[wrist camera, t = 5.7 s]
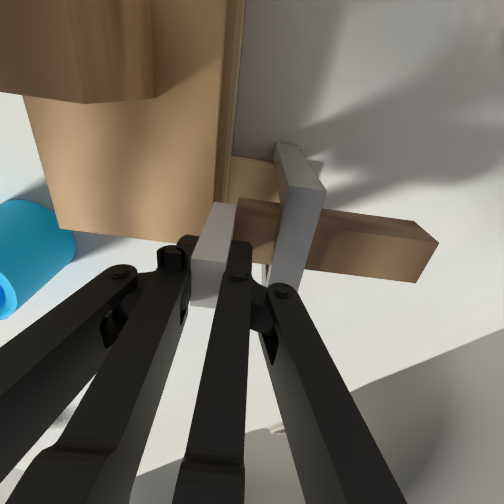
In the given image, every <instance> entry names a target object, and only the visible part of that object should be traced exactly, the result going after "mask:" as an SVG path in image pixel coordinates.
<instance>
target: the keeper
mask: <svg viewBox="0 0 504 504" xmlns="http://www.w3.org/2000/svg"><path fill="white" fill-rule="evenodd" d="M273 165H274V171H275V177H276V183H277V189H278V195H279V201H280V207H281V211H280V216H279V221H278V226H277V231H276V236H275V241H274V245H273V250H272V255H271V260H270V265H268V264H262V285H263V286H265V287H269V285H271V284H273V283H277V282H279V283H285V284H288V285H290V286H292V287H293V288H294V289H295V290H296V291H297V292H298V288H299V285H300V281H301V278H302V274H303V271H304V267H305V264H306V261H307V257H308V254H309V250H310V247H311V243H312V240H313V236H314V233H315V229H316V226H317V223H318V219H319V216H320V212H321V209H322V205H323V202H324V198H325V195H326V192H327V190H326V189H325V187H324V186H323V184H322V183H321V181H320V180H319V178H318V177H317V175H316V174H315V172H314V170H313V169H312V167H311V166H310V164H309V163H308V161H307V160H306V158H305V157H304V155H303V154H302V152H301V150H300V149H299V147H298V146H297V145H292V144H285V143H278V142H276V146H275V152H274V158H273Z"/></svg>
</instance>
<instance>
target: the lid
mask: <svg viewBox="0 0 504 504" xmlns="http://www.w3.org/2000/svg"><path fill="white" fill-rule="evenodd" d="M226 8H227V0H0V92H5V93H12V94H19V95H22V96H23V100H24V103H25V107H26V110H27V114H28V117H29V121H30V124H31V128H32V132H33V135H34V139H35V142H36V146H37V149H38V153H39V156H40V160H41V163H42V167H43V171H44V174H45V178H46V181H47V185H48V188H49V192H50V195H51V199H52V203H53V206H54V210H55V213H56V217H57V220H58V224H59V227H60V229H66V230H74V231H82V232H90V233H98V234H106V235H113V236H121V237H129V238H137V239H145V240H153V241H161V242H168V243H176V244H177V242H178V240H179V239H180V238H181V237H183V236H184V235H186V234H187V235H195V236H200V235H201V232H202V230H203V228H204V225H205V223H206V220H207V218H208V215H209V213H210V211H211V208H212V206H213V203H214V202H215V189H216V173H217V156H218V140H219V123H220V107H221V91H222V74H223V58H224V41H225V25H226Z"/></svg>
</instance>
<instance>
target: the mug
mask: <svg viewBox="0 0 504 504" xmlns="http://www.w3.org/2000/svg"><path fill="white" fill-rule="evenodd" d="M75 253H76V242H75V240H74V237H73V234H72V232H71V230H66V229H60V227H59V224H58V220H57V217H56V214H55V213H54V212H52V211H51V210H49V209H47V208H45V207H43V206H42V205H40V204H37V203H34V202H30V201H27V200H9V201H7V202H4V203H1V204H0V320H2V319H6V318H8V317H9V316H10V315H12V314H13V313H14V312H15V311H16V310H17V309H19V308H20V307H21V306H22V305H23V304H24V303H25V302H26V301H27V300H28V299H30V298H31V297H32V296H33V295H34V294H35V293H36V292H37V291H38V290H39V289H41V288H42V287H43V286H44V285H45V284H46V283H47V282H48V281H49V280H51V279H52V278H53V277H54V276H55V275H56V274H57V273H58V272H59V271H60V270H62V269H63V268H64V267H65V266H66V265H67V264H68V263H69V262H70V261H71V260H72V259H73V257H74V255H75Z"/></svg>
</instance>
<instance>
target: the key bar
mask: <svg viewBox="0 0 504 504" xmlns="http://www.w3.org/2000/svg"><path fill="white" fill-rule="evenodd" d="M280 211H281V207H280V203H277V202H270V201H263V200H255V199H248V198H241V197H239V198H238V203H237V208H236V213H235V221H234V230H233V240H239V241H246V242H250V244H251V245H252V247H253V251H252V263H260V264H268V265H270V260H271V255H272V250H273V245H274V241H275V236H276V231H277V226H278V221H279V216H280ZM438 244H439V242H438V241H436V240H435V239H434V238H433V237H432V236H431V235H429V234H428V233H427V232H426V231H425V230H424V229H422V228H421V227H420V226H419V225H418V224H417V223H415V222H414V221H409V220H402V219H394V218H387V217H380V216H372V215H365V214H358V213H350V212H343V211H336V210H328V209H321V212H320V216H319V219H318V223H317V226H316V229H315V233H314V236H313V240H312V243H311V247H310V250H309V254H308V257H307V261H306V264H305V267H304V269H307V270H315V271H323V272H331V273H339V274H347V275H355V276H363V277H371V278H379V279H387V280H395V281H403V282H411V283H416V282H417V280H418V279H419V277H420V275H421V273H422V272H423V270H424V268H425V267H426V265H427V263H428V261H429V260H430V258H431V256H432V255H433V253H434V251H435V249H436V248H437V246H438Z"/></svg>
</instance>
